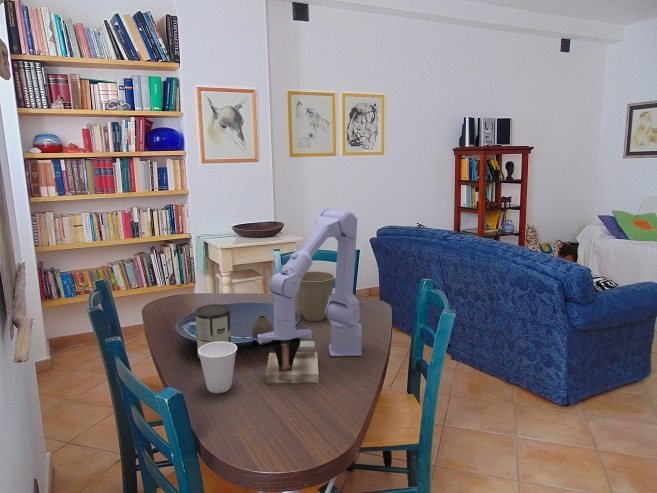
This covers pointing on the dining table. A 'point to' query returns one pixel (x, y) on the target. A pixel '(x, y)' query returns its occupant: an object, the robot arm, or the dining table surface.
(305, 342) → the pale green box
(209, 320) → the coffee can
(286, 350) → the peg
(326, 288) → the plant pot
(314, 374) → the socket board
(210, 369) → the cup
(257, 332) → the vase
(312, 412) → the dining table surface
